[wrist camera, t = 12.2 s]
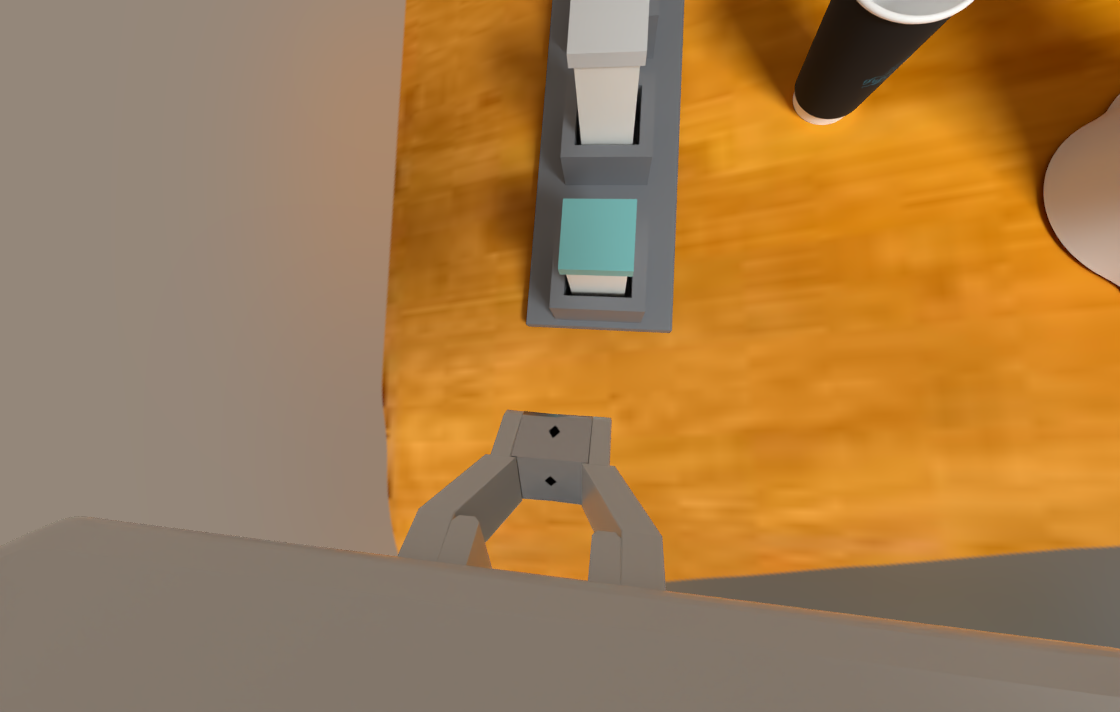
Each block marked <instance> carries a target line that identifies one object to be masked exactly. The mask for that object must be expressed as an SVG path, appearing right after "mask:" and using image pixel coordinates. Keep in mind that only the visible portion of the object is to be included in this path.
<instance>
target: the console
mask: <svg viewBox="0 0 1120 712" xmlns="http://www.w3.org/2000/svg"><path fill="white" fill-rule="evenodd" d="M570 2H571V0H553V1H552V13H551V26H550V38H549V50H548V63H547V75H546V87H545V99H544V112H543V124H542V136H541V149H540V161H539V173H538V186H537V198H536V210H535V223H534V235H533V247H532V259H531V272H530V284H529V296H528V309H527V321H526V324H527V325H528V326H532V327H553V328H575V329H596V330H617V331H638V332H660V333H670V332H671V331H672V308H673V282H674V256H675V229H676V203H677V177H678V150H679V124H680V97H681V71H682V45H683V18H684V0H649V20H648V40H647V55H646V64H645V66H640V71H639V81H638V92H637V102H636V113H635V123H634V134H633V144H632V145H581V135H580V125H579V115H578V104H577V94H576V84H575V74H574V68H568V62H567V42H568V29H569V16H570ZM563 199H637V213H636V233H635V253H634V272H633V277H627V282H626V288H625V295H624V298H622V297H595V296H573V295H572V292H571V289H570V285H569V282H568V279H567V276H566V275H562V274H559V271H558V260H559V247H560V233H561V219H562V206H563Z"/></svg>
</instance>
